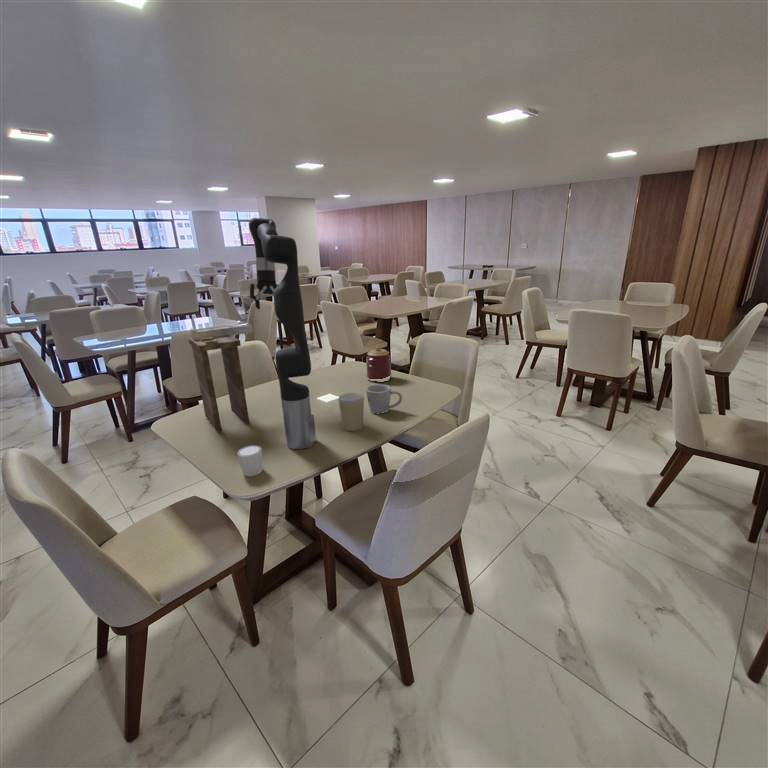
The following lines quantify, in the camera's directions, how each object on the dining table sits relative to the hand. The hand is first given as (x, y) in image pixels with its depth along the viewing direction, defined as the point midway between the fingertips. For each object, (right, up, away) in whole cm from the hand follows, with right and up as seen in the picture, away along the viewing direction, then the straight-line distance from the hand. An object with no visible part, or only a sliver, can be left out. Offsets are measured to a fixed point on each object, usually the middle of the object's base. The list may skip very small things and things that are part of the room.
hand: (268, 308), depth 162 cm
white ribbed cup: (+10, -59, -49) cm, 77 cm away
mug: (+50, -44, -7) cm, 67 cm away
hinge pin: (-14, -13, -13) cm, 23 cm away
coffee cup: (+38, -49, -20) cm, 65 cm away
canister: (+47, -30, +36) cm, 67 cm away
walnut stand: (-14, -47, -9) cm, 50 cm away
